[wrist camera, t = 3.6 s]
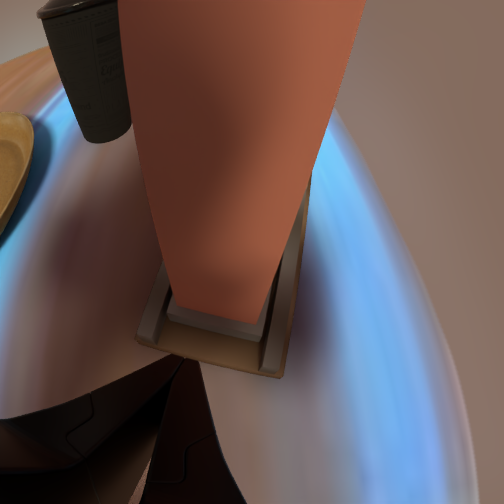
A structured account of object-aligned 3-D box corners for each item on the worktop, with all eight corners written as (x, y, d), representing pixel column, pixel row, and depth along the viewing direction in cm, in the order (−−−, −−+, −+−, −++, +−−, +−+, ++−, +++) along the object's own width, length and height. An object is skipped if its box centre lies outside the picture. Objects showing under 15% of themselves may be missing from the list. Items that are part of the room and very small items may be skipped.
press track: (279, 378, 16) (297, 365, 13) (138, 343, 16) (118, 320, 13) (309, 172, 24) (322, 134, 21) (213, 151, 24) (214, 112, 21)
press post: (258, 342, 16) (399, 13, 3) (169, 320, 16) (79, -14, 3) (275, 260, 18) (360, -20, 5) (195, 242, 18) (190, -44, 5)
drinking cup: (110, 100, 28) (93, -71, 11) (161, 117, 27) (157, -88, 10) (56, 140, 24) (13, -49, 7) (103, 164, 23) (62, -76, 6)
